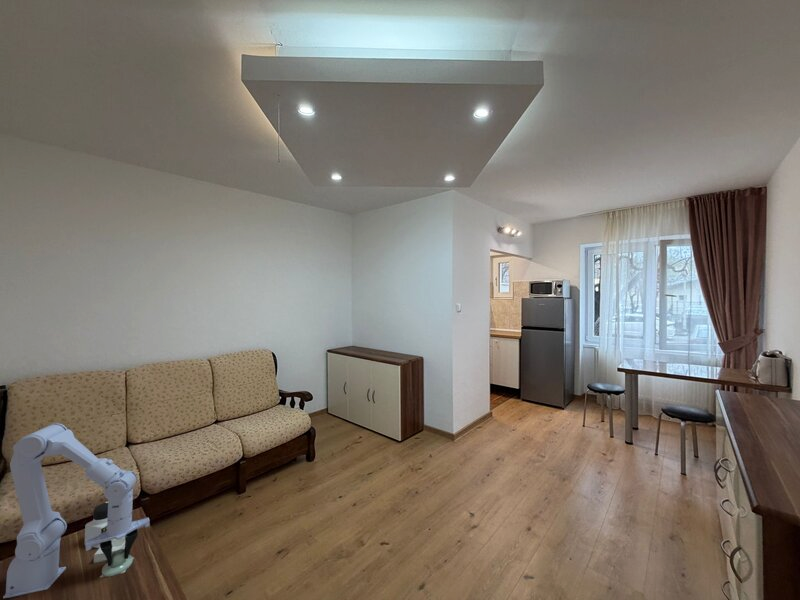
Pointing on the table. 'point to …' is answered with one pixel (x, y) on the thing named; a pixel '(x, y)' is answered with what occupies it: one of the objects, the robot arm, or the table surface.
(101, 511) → the medicine bottle
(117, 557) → the lid
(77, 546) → the table surface
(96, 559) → the dish
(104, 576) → the mat
